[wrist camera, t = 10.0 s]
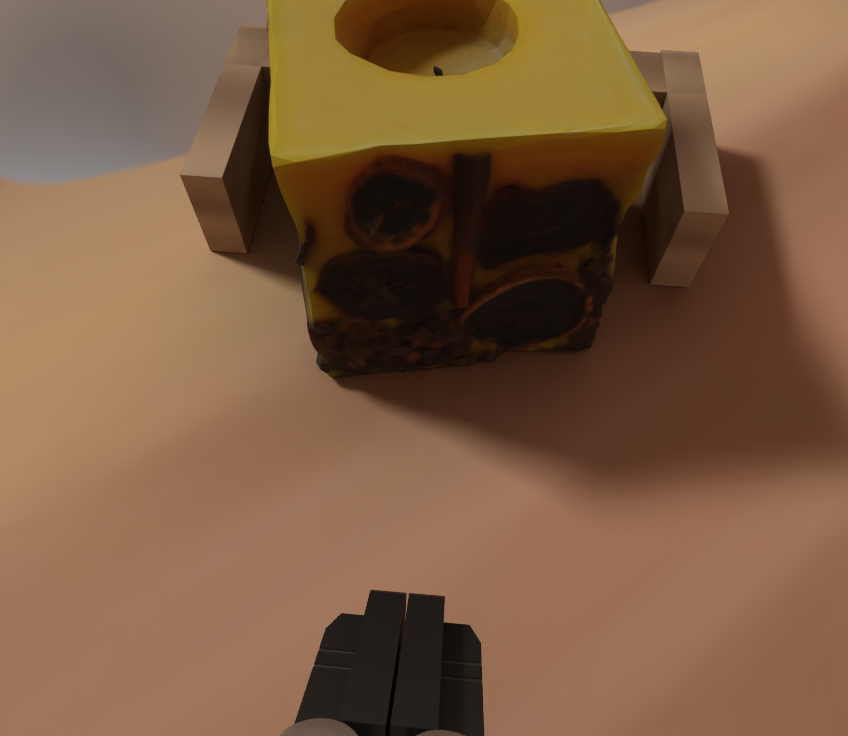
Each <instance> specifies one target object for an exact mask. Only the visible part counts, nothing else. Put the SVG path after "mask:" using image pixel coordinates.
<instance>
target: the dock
mask: <svg viewBox="0 0 848 736" xmlns="http://www.w3.org/2000/svg"><path fill="white" fill-rule="evenodd" d="M629 52H630V54H631V56H632V57H633V59H634V61H635V63H636V65H637V67H638V68H639V70H640V72H641V74H642V76H643V78H644V79H645V81H646V83H647V84H648V86H649V88H650V89H651V91H652V93H653V94H654V96H655V98H656V99H657V101H658V103H659V105H660V107H661V109H662V111H663V113H664V114H665V116H666V118H667V122H666V127H665V132H664V138H663V144H662V148H661V150H660V152H659V153H658V155H657V157H656V158H655V160H654V162H653V163H652V165H651V167H650V168H649V170H648V172H647V175H646V178H645V181H644V184H643V187H642V190H641V201H642V211H643V221H644V231H645V241H646V251H647V261H648V270H649V280H650V284H651V285H664V286H677V287H689V286H690V284H691V282H692V281H693V279H694V277H695V275H696V273H697V272H698V270H699V268H700V266H701V264H702V263H703V261H704V259H705V257H706V255H707V254H708V252H709V250H710V248H711V246H712V245H713V243H714V241H715V239H716V237H717V236H718V234H719V232H720V230H721V228H722V227H723V225H724V223H725V221H726V219H727V217H728V216H729V210H728V205H727V199H726V194H725V189H724V184H723V178H722V173H721V168H720V163H719V158H718V152H717V147H716V142H715V137H714V131H713V126H712V121H711V116H710V110H709V105H708V100H707V95H706V90H705V84H704V79H703V74H702V69H701V63H700V58H699V53H698V52H686V51H670V50H661V52H660V53H654V52H638V51H629ZM270 87H271V74H270V58H269V40H268V32H267V26H261V25H245V24H241V25H240V27H239V29H238V32H237V34H236V36H235V39H234V41H233V44H232V47H231V49H230V51H229V54H228V56H227V59H226V61H225V64H224V66H223V69H222V71H221V74H220V76H219V79H218V81H217V84H216V86H215V89H214V91H213V94H212V96H211V99H210V101H209V104H208V107H207V109H206V111H205V114H204V116H203V119H202V121H201V124H200V126H199V129H198V131H197V134H196V136H195V139H194V141H193V144H192V146H191V149H190V151H189V154H188V156H187V159H186V161H185V163H184V166H183V168H182V171H181V173H180V176H181V179H182V181H183V183H184V186H185V188H186V191H187V193H188V196H189V198H190V201H191V203H192V206H193V208H194V211H195V213H196V216H197V218H198V221H199V223H200V226H201V228H202V231H203V233H204V236H205V238H206V241H207V243H208V246H209V248H210V251H221V252H234V253H247V252H248V249H249V246H250V243H251V239H252V236H253V233H254V229H255V226H256V223H257V219H258V216H259V213H260V209H261V206H262V203H263V199H264V196H265V193H266V189H267V186H268V183H269V180H270V176H271V173H272V170H273V166H272V160H271V154H270V148H269V101H270Z"/></svg>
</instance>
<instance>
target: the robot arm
mask: <svg viewBox="0 0 848 736" xmlns="http://www.w3.org/2000/svg"><path fill="white" fill-rule="evenodd" d="M444 603H445V596H437V595H426V594H414V593H409V598H408V605H407V612H406V593H402V592H391V591H380V590H371V591H370V594H369V598H368V602H367V606H366V610H365V614H364V615H354V614H343V613H341V614H340V615H339V616H338V617H337V618H336V619H335V620H334V621H333V622H332V623H331V624H330V625H329V626H328V627H327V628H326V629H325V632H324V635H323V638H322V641H321V645H320V649H319V651H318V654H317V657H316V660H315V663H314V667H313V669H312V672H311V675H310V678H309V681H308V684H307V687H306V690H305V693H304V696H303V699H302V702H301V705H300V708H299V711H298V714H297V717H296V721H295V724H294V725H292V726H290V727H289V728H287V729H286V730H285V731H284V732H283V733H281V734H280V736H484V716H483V688H482V666H481V663H482V661H481V642H480V641H479V639H478V638H477V636H476V634H475V633H474V631H473V630H472V628H471V626H470V625H465V624H454V623H444ZM405 614H406V619H405Z"/></svg>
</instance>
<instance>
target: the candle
mask: <svg viewBox="0 0 848 736" xmlns="http://www.w3.org/2000/svg"><path fill="white" fill-rule="evenodd" d="M266 3H267V9H268V15H267V32H268V40H269V58H270V74H271V87H270V101H269V148H270V154H271V160H272V166H273V170H274V173H275V176H276V179H277V182H278V185H279V188H280V191H281V194H282V196H283V198H284V201H285V203H286V205H287V207H288V210H289V212H290V214H291V216H292V218H293V221H294V223H295V225H296V229H297V233H298V237H299V251H298V253H297V255H296V257H295V259H294V260H295V261H296V262H298V263H299V264H300V268H301V279H302V290H303V296H304V302H305V307H306V313H307V328H308V332H309V336H310V340H311V342H312V344H313V347H314V348H315V349H316V351H317V352H318V356H317V361H316V363H317V365H318V366H319V368H320V369H321V370H322V371H324V372H326V373H327V374H328V375H329V376H330V377H335V376H348V375H358V374H367V373H374V372H382V371H387V370H392V369H393V370H398V371H403V372H404V371H406V370H418V369H426V368H433V367H439V366H444V365H445V366H457V365H468V364H472V363H476V362H477V361H479V360H480V359H482V360H485V361H490V362H492V361H493V360H494V359H496V358H497V356H498V355H499V353H502V352H504V351H507V350H547V351H557V352H561V351H577V350H580V349H587V348H590V347H591V344H592V342H593V341H594V339H595V334H596V330H597V328H598V327H599V317H602V304H606V300H607V297H608V295H609V294H610V292H611V291H612V288H613V273H614V267H615V258H616V245H617V240H618V239H617V233H618V231H619V229H620V227H621V225H622V223H623V221H624V216H625V214H626V211H627V209H628V208H629V207H630V206H631V205H632V203H633V202H634V201H635V200H636V199H637V198H638V197H639V196H640V193H641V190H642V187H643V184H644V181H645V178H646V175H647V172H648V170H649V168H650V167H651V165H652V163H653V162H654V160H655V158H656V157H657V155H658V153H659V152H660V150H661V148H662V144H663V138H664V132H665V127H666V122H667V118H666V116H665V114H664V113H663V111H662V109H661V107H660V105H659V103H658V101H657V99H656V98H655V96H654V94H653V93H652V91H651V89H650V88H649V86H648V84H647V83H646V81H645V79H644V78H643V76H642V74H641V72H640V70H639V68H638V67H637V65H636V63H635V61H634V59H633V57H632V56H631V54H630V52H629V50H628V49H627V47H626V45H625V44H624V42H623V40H622V39H621V37H620V36H619V34H618V32H617V30H616V28H615V27H614V25H613V23H612V21H611V19H610V18H609V16H608V14H607V12H606V11H605V9H604V7H603V5H602V3H601V1H600V0H266Z"/></svg>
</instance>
